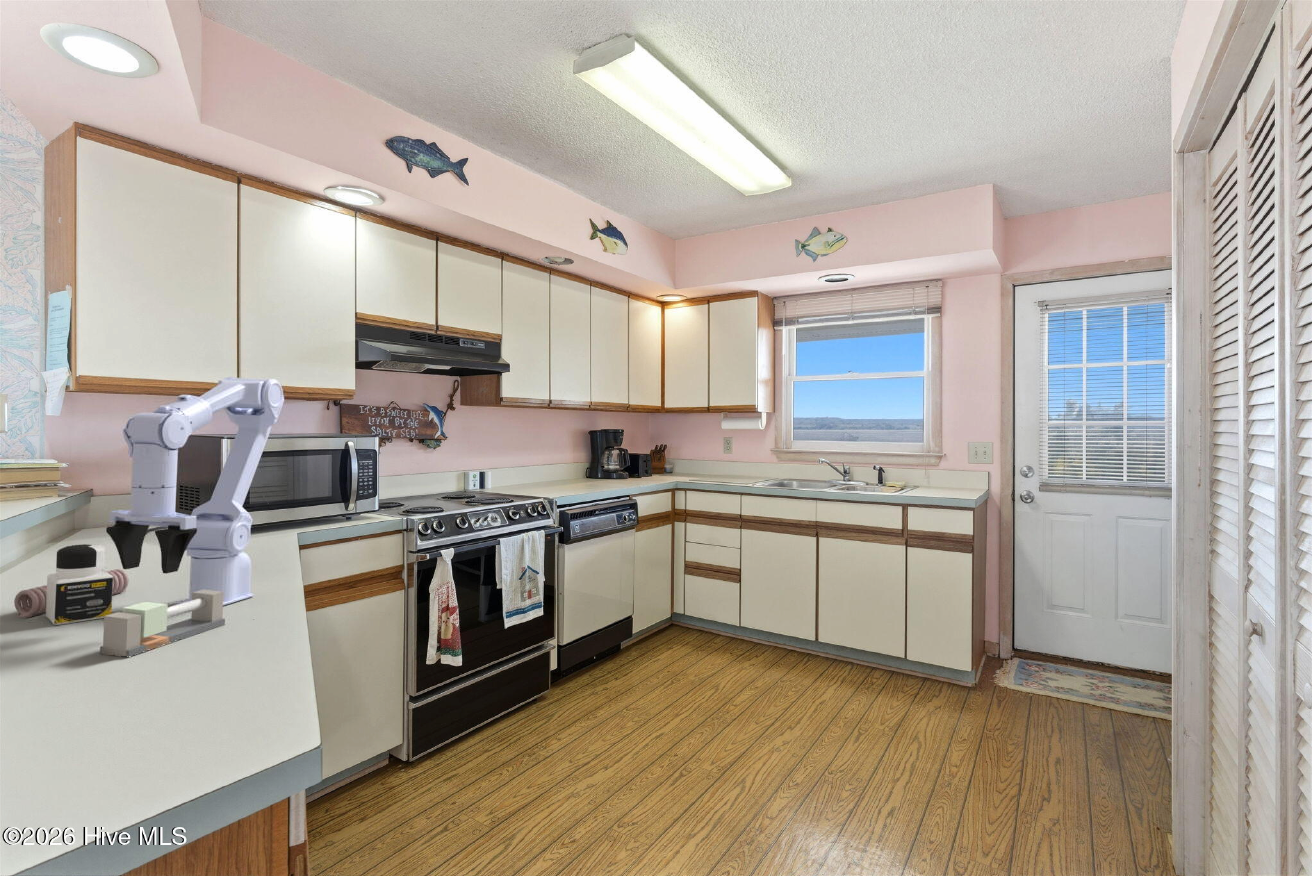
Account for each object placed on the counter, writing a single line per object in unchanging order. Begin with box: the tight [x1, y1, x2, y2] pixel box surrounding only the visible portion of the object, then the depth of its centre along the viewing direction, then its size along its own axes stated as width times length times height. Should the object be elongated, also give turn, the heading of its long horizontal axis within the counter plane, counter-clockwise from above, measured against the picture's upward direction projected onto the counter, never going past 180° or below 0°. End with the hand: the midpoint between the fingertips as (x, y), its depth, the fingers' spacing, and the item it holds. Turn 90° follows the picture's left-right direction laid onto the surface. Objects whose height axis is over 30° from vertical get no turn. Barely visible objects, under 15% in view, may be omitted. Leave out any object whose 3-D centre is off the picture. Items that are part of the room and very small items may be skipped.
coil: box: [13, 568, 130, 619], centre depth 112 cm, size 5×5×18 cm
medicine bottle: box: [45, 543, 113, 626], centre depth 105 cm, size 7×7×12 cm
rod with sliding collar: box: [99, 590, 226, 658], centre depth 97 cm, size 16×5×6 cm, turn 170°
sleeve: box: [121, 601, 169, 638], centre depth 93 cm, size 4×4×4 cm
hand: (150, 570), depth 101 cm, fingers open, 7 cm apart
